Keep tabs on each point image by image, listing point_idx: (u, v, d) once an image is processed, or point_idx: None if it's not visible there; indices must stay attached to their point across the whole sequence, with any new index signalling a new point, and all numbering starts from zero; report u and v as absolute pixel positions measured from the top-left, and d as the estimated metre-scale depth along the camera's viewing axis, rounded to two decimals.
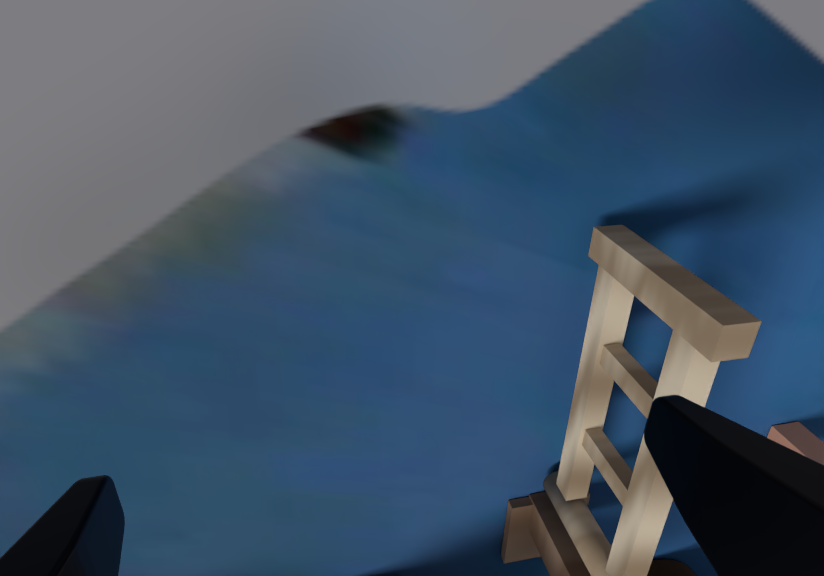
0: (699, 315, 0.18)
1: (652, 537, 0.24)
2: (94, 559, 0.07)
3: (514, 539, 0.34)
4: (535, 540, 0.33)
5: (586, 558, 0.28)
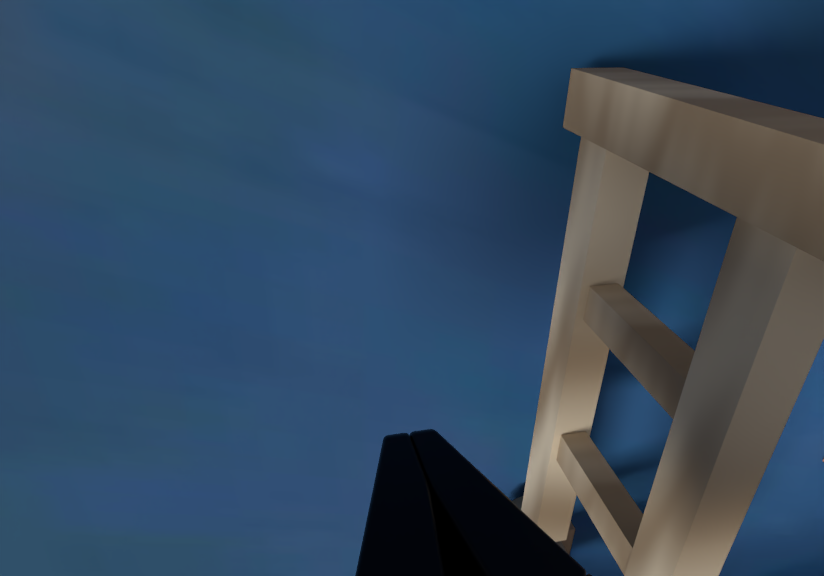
0: (814, 162, 0.07)
1: None
2: None
3: None
4: None
5: None
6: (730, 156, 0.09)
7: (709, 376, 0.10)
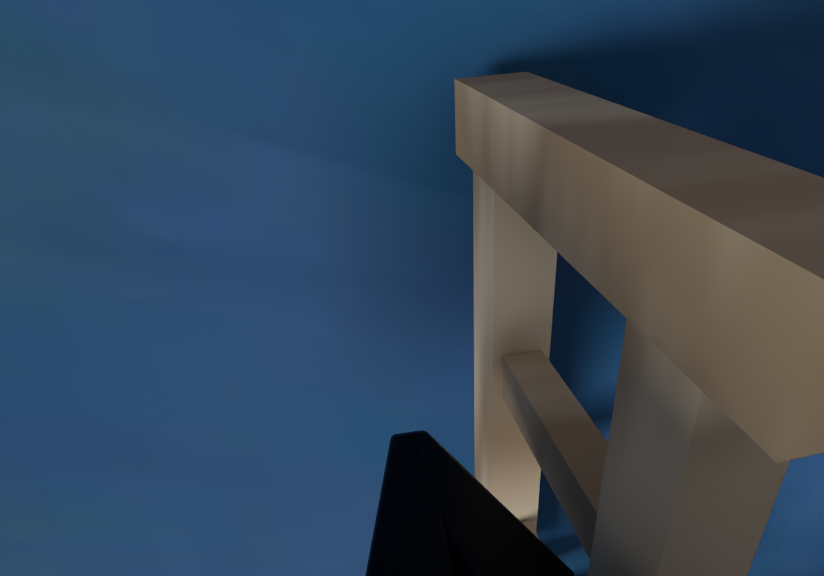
0: (711, 252, 0.04)
1: None
2: None
3: None
4: None
5: None
6: (608, 221, 0.06)
7: (618, 534, 0.07)
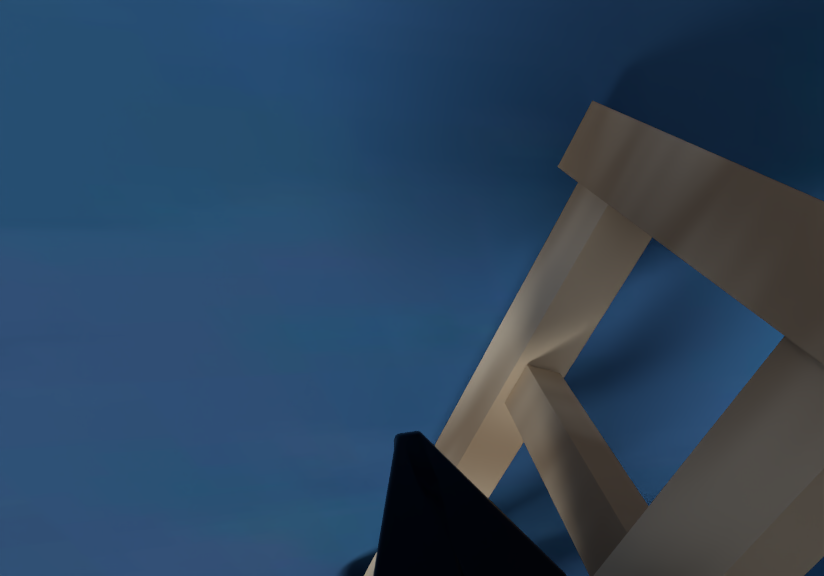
0: None
1: None
2: None
3: None
4: None
5: None
6: (801, 252, 0.06)
7: (667, 541, 0.07)
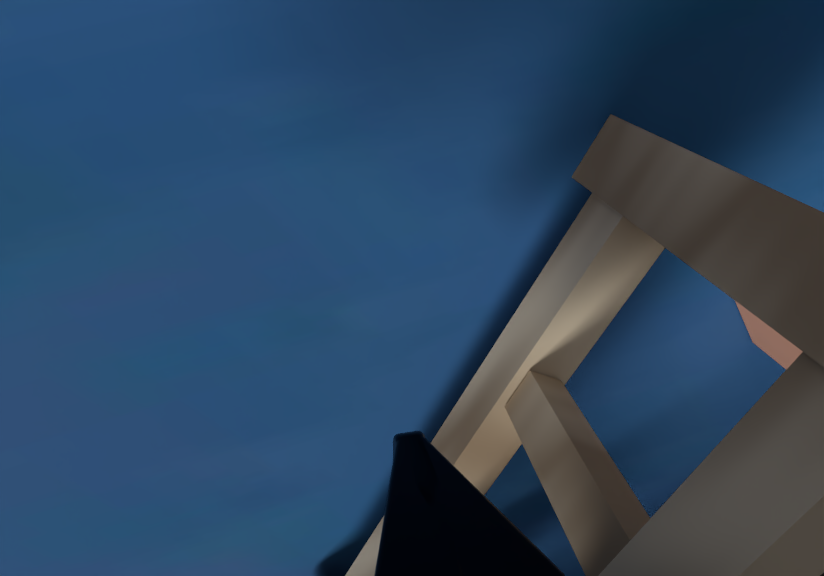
0: None
1: None
2: None
3: None
4: None
5: None
6: (823, 272, 0.06)
7: (673, 548, 0.07)
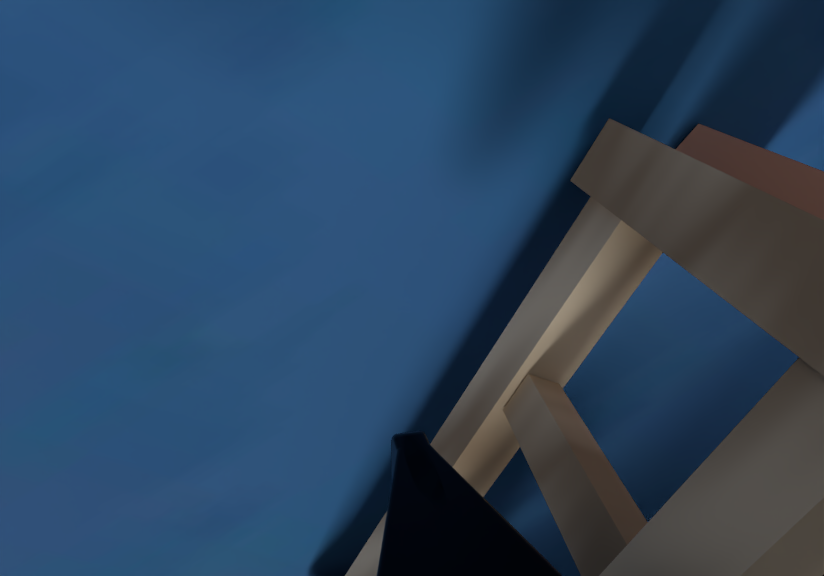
0: None
1: None
2: None
3: None
4: None
5: None
6: (819, 278, 0.06)
7: (670, 553, 0.07)
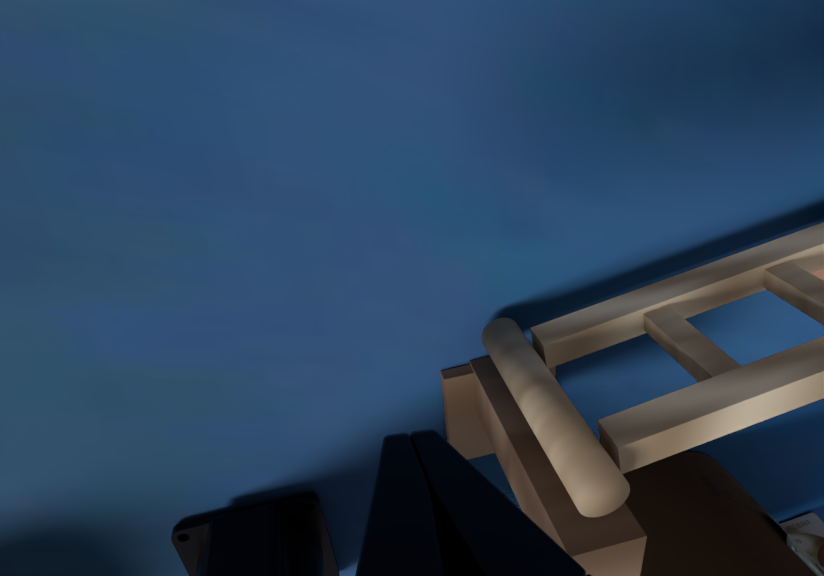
0: None
1: (731, 424, 0.17)
2: None
3: (458, 427, 0.25)
4: (482, 422, 0.24)
5: (555, 399, 0.18)
6: None
7: None
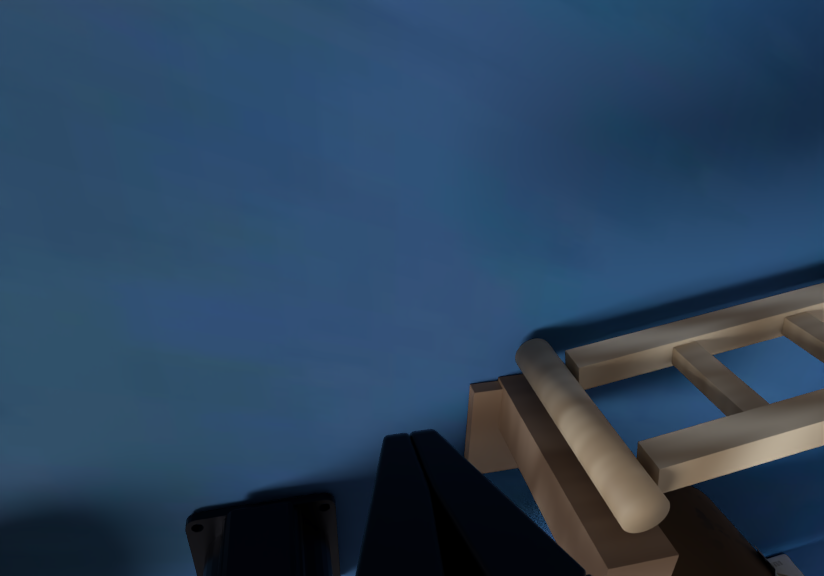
0: None
1: (760, 456, 0.18)
2: None
3: (479, 440, 0.26)
4: (505, 438, 0.25)
5: (596, 419, 0.19)
6: None
7: None
